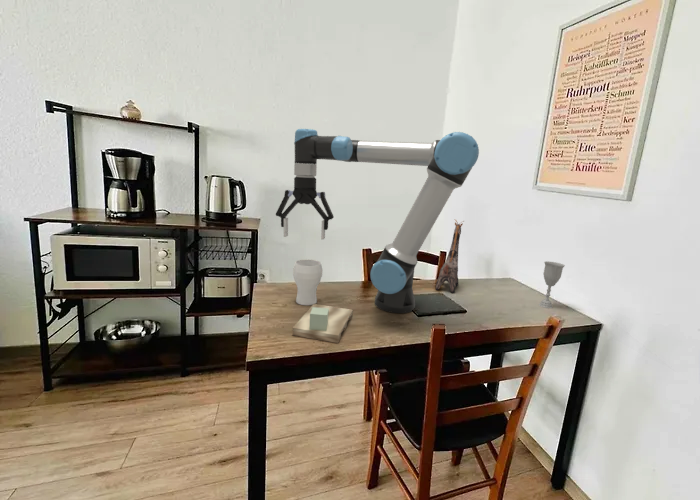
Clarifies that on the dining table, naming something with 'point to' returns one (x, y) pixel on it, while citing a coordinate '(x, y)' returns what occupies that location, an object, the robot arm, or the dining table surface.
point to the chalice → (551, 279)
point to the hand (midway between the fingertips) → (304, 237)
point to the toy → (451, 263)
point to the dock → (334, 328)
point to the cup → (307, 280)
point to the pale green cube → (319, 319)
